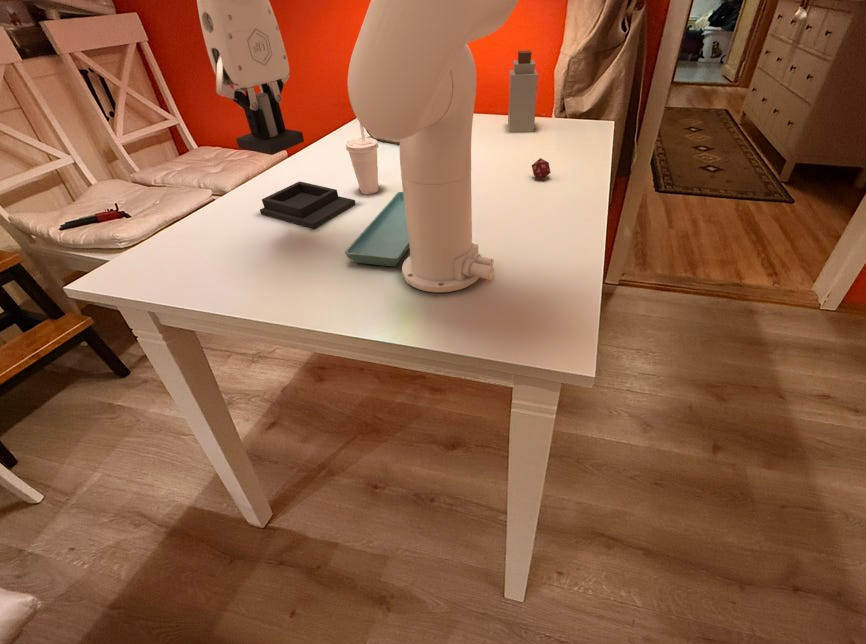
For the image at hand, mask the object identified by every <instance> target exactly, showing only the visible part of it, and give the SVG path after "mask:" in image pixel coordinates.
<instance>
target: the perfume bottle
mask: <svg viewBox="0 0 866 644" xmlns="http://www.w3.org/2000/svg"><path fill="white" fill-rule="evenodd" d="M532 55H533V52H532V50H529V49H527V50H517V59H516V60H514V59H513V60H512V64H513V69H510V70H509V80H508V105H507V106H508V108H507V128H508V129H507V130H508V133H533V132H535V123H536V110H537V109H536V108H537V93H538V79H539V74H538V71H537V70H536V62H535V60H534V59H532Z"/></svg>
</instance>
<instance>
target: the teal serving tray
mask: <svg viewBox="0 0 866 644" xmlns="http://www.w3.org/2000/svg"><path fill="white" fill-rule="evenodd" d="M408 249H410V248H409V239H408V230H407V221H406V213H405V204H404V195H403V191H398V192H397V193H396V194H395V195H394V196H393V197H392V198H391V200H390V201H389V202H388V203H387V204H386V205H385V206H384V208H383V209H382V210H381V211H380V212H379V213H378V214H377V216H376V217H374V219H373V220H372V221H371V222H370V223H369V224H368V226H367V227H366V228H365V229H364V230H363V231H362V232H361V233H360V234H359V235H358V236H357V238H356V239H355V240H354V241H353V242H352V243H351V244H350V245H349V247H347V249H346V250H345V251H344V254H345V255H346V257H347V258H349V259H350V260H351V261H352V262H353V263H355V264H357V263H358V264H366V265H376V266H386V267H397V265H398V263H400V261H401V259H402V258H403V256H404V255H405V254H406V253H407V251H408Z"/></svg>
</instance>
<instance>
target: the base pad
mask: <svg viewBox="0 0 866 644" xmlns="http://www.w3.org/2000/svg"><path fill="white" fill-rule="evenodd" d="M261 202H262V205H263V207H262V208H260V209H259V212H260V214H261V215H262V216H266V217H268V218H269V217H270V218H273V219H277V220H280V221H284V222H288V223H291V224H295V225H298V226H301V227H306V228H310V229H313V230H315V229H317V228H318V227H320V226H322V225H323V224H325V223H327V222H329V221H330V220H332V219H334V218H335V217H337V216H339V215H340V214H342V213H344V212H345V211H347V210H349V209H351V208H353V207H354V206H355V205H356V200H355V199H352V198H349V197H348V198H347V197H343V196H339V193H338V190H337V189H336V188H330V187H327V186H321V185H318V184H313V183H308V182H305V181H297V182H294V183H293V184H290V185H289V186H286V187H284V188H282V189H280V190H278V191H276V192H273V193H271V194H270V195H268V196H265V197H264V198H262V199H261Z"/></svg>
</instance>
